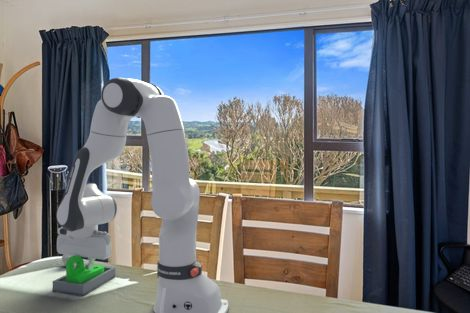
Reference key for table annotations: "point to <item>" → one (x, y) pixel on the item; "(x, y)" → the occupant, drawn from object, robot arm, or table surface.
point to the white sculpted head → (65, 258)
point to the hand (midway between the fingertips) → (84, 268)
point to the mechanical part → (81, 270)
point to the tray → (86, 287)
